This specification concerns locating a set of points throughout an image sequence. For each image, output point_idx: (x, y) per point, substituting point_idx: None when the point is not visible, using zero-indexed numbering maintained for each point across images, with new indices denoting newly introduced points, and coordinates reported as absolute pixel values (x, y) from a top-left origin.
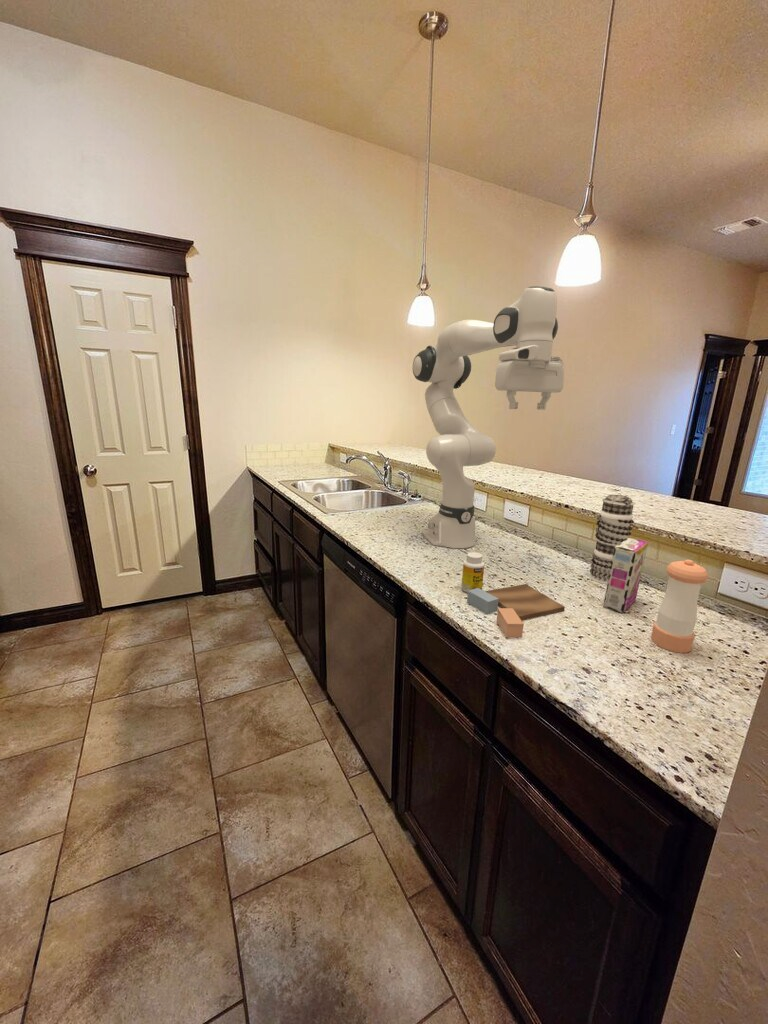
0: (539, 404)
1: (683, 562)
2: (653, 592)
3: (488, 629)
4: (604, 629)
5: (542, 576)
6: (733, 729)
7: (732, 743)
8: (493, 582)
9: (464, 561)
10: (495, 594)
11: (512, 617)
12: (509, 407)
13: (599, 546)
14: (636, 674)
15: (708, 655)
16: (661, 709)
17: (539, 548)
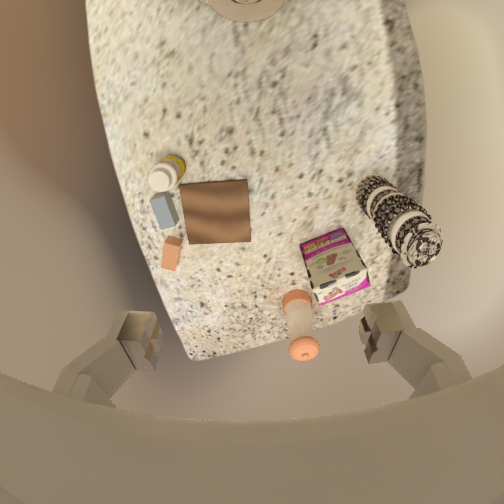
0: (373, 339)
1: (305, 352)
2: None
3: (154, 245)
4: (261, 273)
5: (298, 155)
6: (243, 349)
7: (233, 352)
8: (214, 152)
9: (149, 173)
10: (189, 196)
11: (170, 260)
12: (118, 316)
13: (373, 207)
14: (233, 315)
15: None
16: (220, 335)
17: (378, 68)
